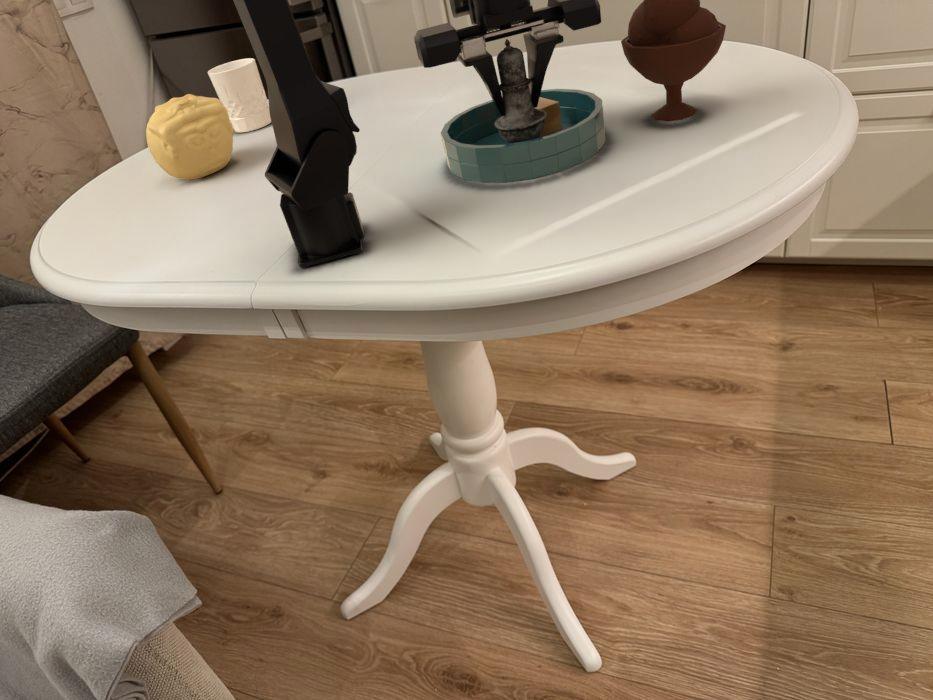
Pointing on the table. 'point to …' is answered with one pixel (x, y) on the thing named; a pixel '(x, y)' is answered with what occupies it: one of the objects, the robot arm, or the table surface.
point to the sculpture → (190, 136)
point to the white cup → (241, 94)
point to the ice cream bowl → (672, 48)
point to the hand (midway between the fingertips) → (518, 110)
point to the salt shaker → (517, 99)
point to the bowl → (496, 161)
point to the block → (550, 116)
